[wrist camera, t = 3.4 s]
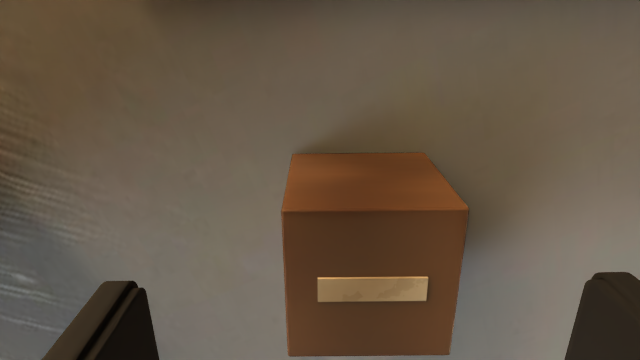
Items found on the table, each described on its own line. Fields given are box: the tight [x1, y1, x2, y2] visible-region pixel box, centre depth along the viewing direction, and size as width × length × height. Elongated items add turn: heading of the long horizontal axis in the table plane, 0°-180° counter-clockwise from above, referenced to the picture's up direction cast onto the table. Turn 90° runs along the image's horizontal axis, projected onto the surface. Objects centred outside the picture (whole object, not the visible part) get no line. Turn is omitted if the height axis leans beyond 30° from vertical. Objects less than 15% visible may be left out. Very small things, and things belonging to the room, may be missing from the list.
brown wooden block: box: [281, 153, 469, 356], centre depth 13 cm, size 4×4×5 cm
